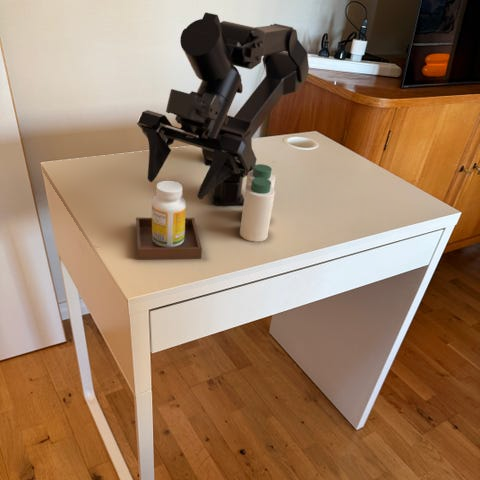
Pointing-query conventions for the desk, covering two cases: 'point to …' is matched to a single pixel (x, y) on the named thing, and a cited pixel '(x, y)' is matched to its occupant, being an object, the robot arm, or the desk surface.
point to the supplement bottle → (168, 214)
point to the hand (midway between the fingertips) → (174, 189)
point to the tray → (153, 251)
